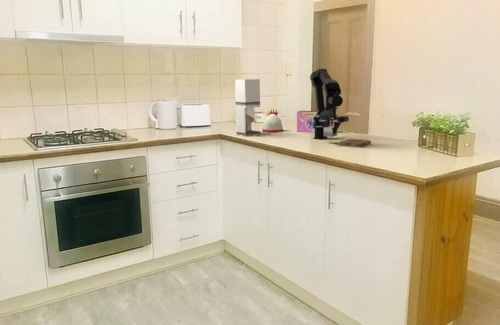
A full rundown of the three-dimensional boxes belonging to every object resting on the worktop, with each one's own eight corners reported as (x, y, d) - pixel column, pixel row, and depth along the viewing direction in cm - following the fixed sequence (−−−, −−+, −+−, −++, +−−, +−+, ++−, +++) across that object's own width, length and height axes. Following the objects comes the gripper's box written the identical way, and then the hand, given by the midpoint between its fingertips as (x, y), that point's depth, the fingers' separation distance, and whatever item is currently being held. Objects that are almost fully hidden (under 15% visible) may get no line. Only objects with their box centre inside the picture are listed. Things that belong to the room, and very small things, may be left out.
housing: (323, 136, 225) (323, 127, 224) (329, 135, 230) (329, 126, 229) (331, 137, 222) (331, 127, 221) (337, 135, 227) (337, 126, 226)
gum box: (334, 132, 270) (335, 111, 268) (331, 133, 264) (331, 112, 261) (301, 130, 282) (301, 110, 279) (296, 131, 275) (296, 111, 272)
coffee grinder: (246, 136, 258) (244, 79, 251) (236, 134, 267) (235, 79, 260) (260, 134, 265) (259, 79, 258) (250, 133, 273) (249, 79, 266)
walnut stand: (339, 145, 219) (340, 141, 218) (350, 142, 228) (350, 138, 227) (361, 147, 211) (361, 143, 211) (370, 144, 220) (371, 140, 220)
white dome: (283, 132, 274) (283, 109, 270) (262, 132, 274) (262, 110, 271) (282, 129, 287) (282, 108, 284) (262, 130, 288) (262, 108, 284)
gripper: (308, 105, 222) (307, 134, 225) (339, 106, 211) (338, 137, 214) (318, 104, 231) (318, 132, 234) (349, 105, 219) (348, 134, 222)
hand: (330, 134), depth 226 cm, fingers closed on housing, 5 cm apart
